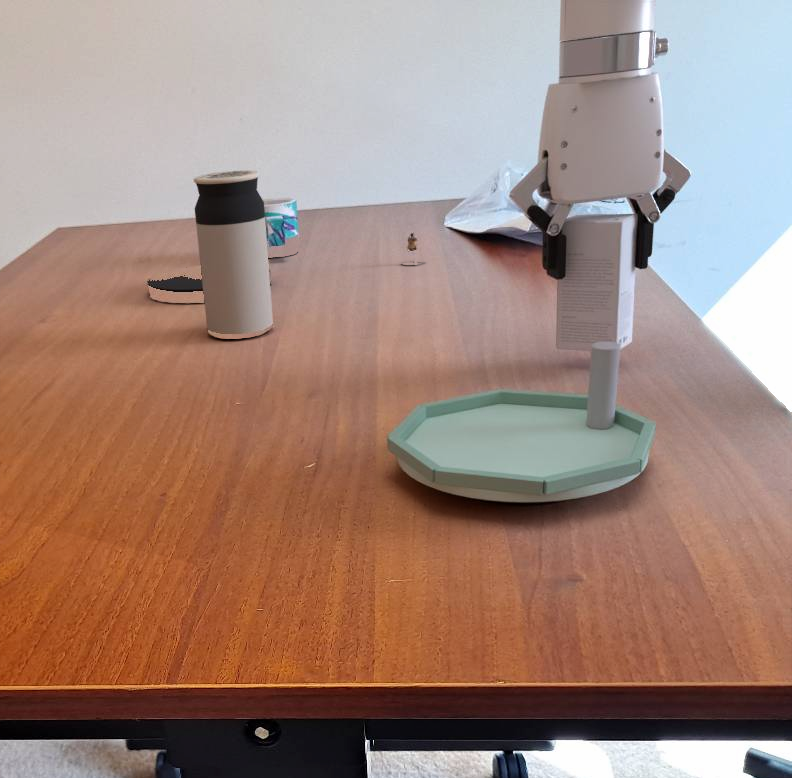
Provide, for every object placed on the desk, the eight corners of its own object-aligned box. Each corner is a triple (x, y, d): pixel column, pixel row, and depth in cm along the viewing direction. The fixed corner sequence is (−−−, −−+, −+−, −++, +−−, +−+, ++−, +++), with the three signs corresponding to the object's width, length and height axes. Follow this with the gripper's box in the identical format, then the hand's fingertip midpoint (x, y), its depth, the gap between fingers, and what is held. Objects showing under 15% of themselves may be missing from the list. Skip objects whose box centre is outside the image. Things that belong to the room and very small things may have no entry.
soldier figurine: (421, 263, 145) (421, 232, 143) (416, 264, 144) (416, 234, 142) (410, 262, 147) (409, 231, 145) (405, 263, 146) (404, 233, 144)
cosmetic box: (633, 342, 93) (640, 212, 88) (615, 354, 90) (622, 221, 85) (571, 338, 97) (575, 213, 92) (553, 349, 94) (556, 221, 89)
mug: (297, 247, 165) (294, 196, 162) (304, 260, 155) (301, 205, 151) (249, 252, 165) (244, 200, 162) (253, 265, 155) (248, 210, 151)
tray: (705, 469, 67) (718, 371, 64) (471, 523, 62) (473, 420, 59) (553, 398, 82) (558, 316, 79) (358, 437, 78) (355, 352, 75)
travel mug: (285, 326, 118) (275, 169, 110) (250, 343, 113) (235, 179, 105) (232, 322, 122) (217, 170, 115) (194, 338, 117) (177, 180, 109)
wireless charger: (294, 278, 143) (293, 264, 142) (223, 307, 130) (222, 292, 129) (198, 273, 152) (196, 260, 151) (123, 300, 140) (121, 286, 139)
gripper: (684, 49, 87) (669, 253, 94) (491, 73, 86) (492, 276, 94) (727, 46, 80) (707, 267, 87) (518, 72, 80) (516, 291, 87)
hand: (596, 270), depth 91 cm, fingers closed on cosmetic box, 7 cm apart
